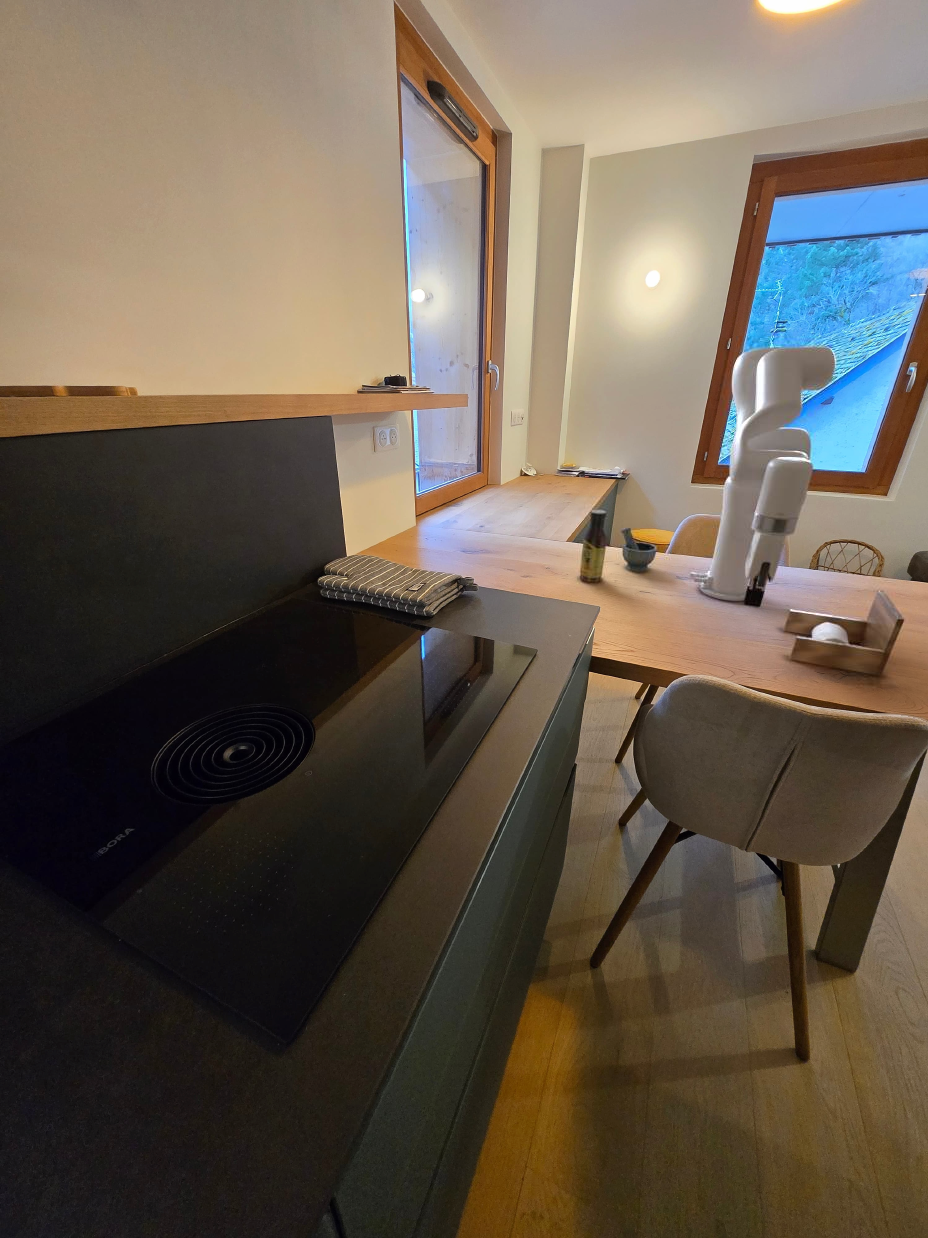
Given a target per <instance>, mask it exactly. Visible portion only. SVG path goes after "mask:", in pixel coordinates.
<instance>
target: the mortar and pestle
mask: <svg viewBox="0 0 928 1238" xmlns="http://www.w3.org/2000/svg"><path fill="white" fill-rule="evenodd" d="M631 530H632V529H631V527H630V526H628V527H624V528H623V529H621V530H620V532H621V534H622V535H623V538H624V542H625V543H623V546H622V557H623V560H624V561H625V562H626V563H627V565H626V567H625V568H626V570H628V571H630V572H635V573H643V572H647V571H648V566H649V565H650V564H652V563H653V561H654V560H655V557H656V554H657V549H658V546H656V545H654V544H653V543H648V542H643V541H636V540H635V537H634V535H633V533H632V531H631Z"/></svg>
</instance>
